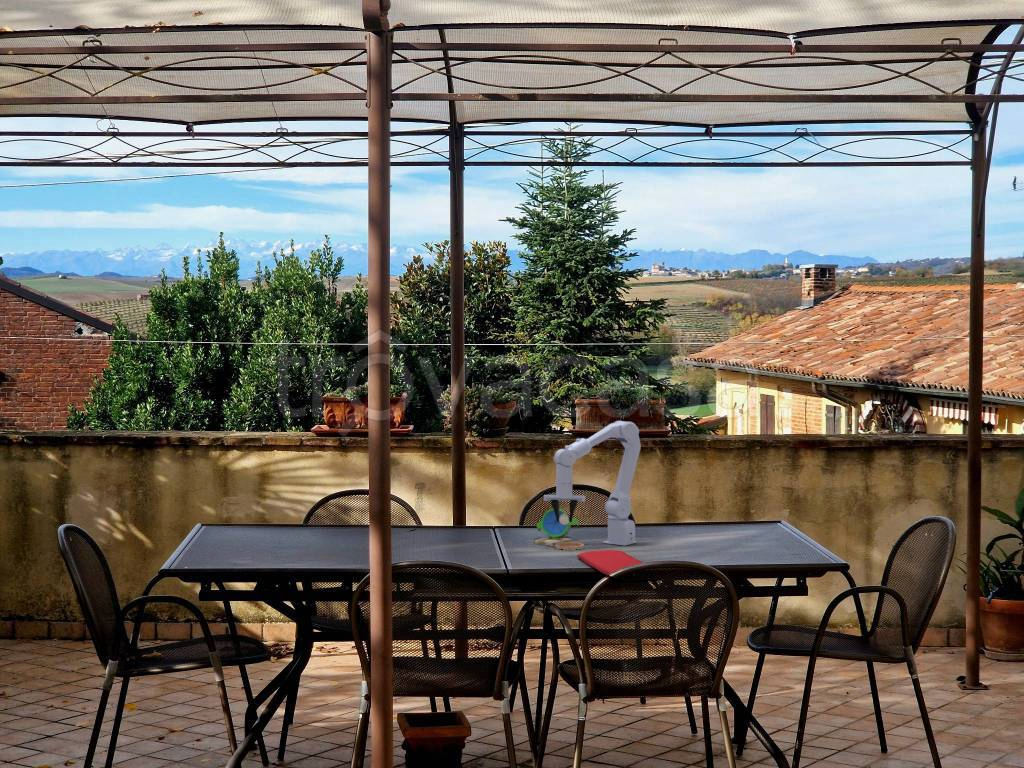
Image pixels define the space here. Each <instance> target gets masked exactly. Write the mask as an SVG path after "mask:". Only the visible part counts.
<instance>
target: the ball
mask: <svg viewBox="0 0 1024 768" xmlns="http://www.w3.org/2000/svg"><path fill="white" fill-rule="evenodd" d="M565 513H566V512H565ZM565 513H564V514H561V515H560V516H559V522H560V523H561V524H563V525H566V524H568V523H569V522H570V521H569V518H570V514H568V513H566V514H565Z"/></svg>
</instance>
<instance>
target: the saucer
mask: <svg viewBox="0 0 1024 768" xmlns="http://www.w3.org/2000/svg"><path fill="white" fill-rule="evenodd" d="M555 548H556V550H559V549H563V550H562V551H575V550H574V549H581V550H583V549H582V548H584V549H585V544H584V543H581V542H574V541H573V542H562V543H557V544H555V546H554V549H555Z"/></svg>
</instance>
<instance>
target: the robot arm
mask: <svg viewBox="0 0 1024 768" xmlns="http://www.w3.org/2000/svg"><path fill="white" fill-rule="evenodd" d="M639 434H640V429H639V428H638V426H637V425H636V424H635V423H634V422H632V421H623V420H616V421H614V422H612V423H609V424H608V425H607V426H605V427H603V428H602V429H601V430H599V431H597V432H596V433H594V434H593V435H591V436H589V437H588V438H587V439H586V438H583V437H582V438H576V439H575V442H572V443H571V444H569V445H567V444H566V445H565V446H564V448H560V449H558V450H556V451H555V453H554V456H553V458H552V459H553V461H554V463H555V467H556V470H555V473H556V474H555V475H556V477H555V483H556V484H555V486H556V488H555V493H556V494H544V495H543V501H544V502H548V501H549V502H550V505H551V508H552V509H553V510H554V512H555V515H556V520H557V522H559V509H560V502H569V517H570V518H569V521H570V522H572V518H574V513H575V510H576V507H577V506H578V504H579V503H578V502H581V503H582V502H586V495H578V494H573V465H574V464H575V463H576V461H577V460H579V459H580V458H583V457H584V456H586V455H588V454H589V453H590V452H591V450H592V448H593V447H594V446H596V445H599V444H601V443H602V442H605V441H606V440H608V439H610V438H611V439H612V438H614V439H617V440H618V441H620V443H621V445H622V446H623V447H624V452H623V455H622V459H621V463H620V468H619V471H618V474H617V479H616V482H615V483H616V484H615V487H614V490H613V491H612V492H611V493H610V495H609V498H608V500H606V503H605V505H604V511H605V513H606V514H607V540H605V541H602V543H603V544H610V545H617V546H618V545H620V546H627V545H628V546H629V545H632V544H636V543H637V541H636V523H635V521H634V520H632V519H629V516H630V515H631V512H632V507H631V503H632V502H631V501H632V499H631V496H630V490H631V488H632V487H631V486H632V483H633V480H634V476H635V471H636V468H637V464H638V461H639V457H640V452H641V447H642V444H641V440H640V436H639Z"/></svg>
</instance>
